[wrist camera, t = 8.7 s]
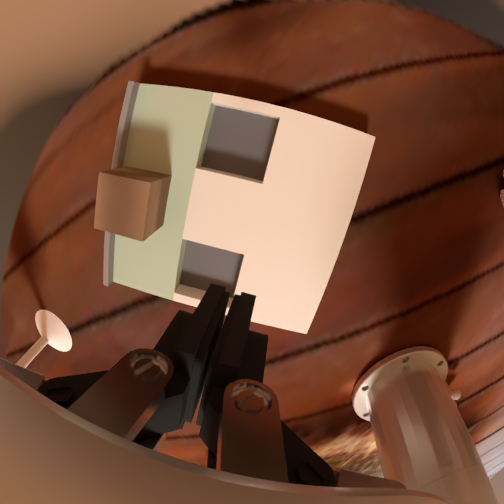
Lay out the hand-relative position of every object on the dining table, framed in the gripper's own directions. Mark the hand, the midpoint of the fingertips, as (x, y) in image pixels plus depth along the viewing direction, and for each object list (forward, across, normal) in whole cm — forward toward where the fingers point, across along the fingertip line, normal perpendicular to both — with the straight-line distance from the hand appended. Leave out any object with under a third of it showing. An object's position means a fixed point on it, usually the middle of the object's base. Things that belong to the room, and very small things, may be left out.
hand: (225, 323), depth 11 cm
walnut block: (+12, +9, -1) cm, 15 cm away
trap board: (+14, +3, -1) cm, 14 cm away
